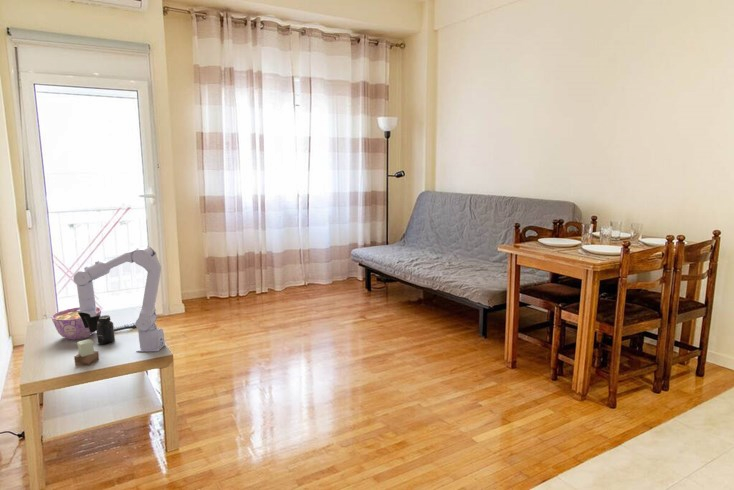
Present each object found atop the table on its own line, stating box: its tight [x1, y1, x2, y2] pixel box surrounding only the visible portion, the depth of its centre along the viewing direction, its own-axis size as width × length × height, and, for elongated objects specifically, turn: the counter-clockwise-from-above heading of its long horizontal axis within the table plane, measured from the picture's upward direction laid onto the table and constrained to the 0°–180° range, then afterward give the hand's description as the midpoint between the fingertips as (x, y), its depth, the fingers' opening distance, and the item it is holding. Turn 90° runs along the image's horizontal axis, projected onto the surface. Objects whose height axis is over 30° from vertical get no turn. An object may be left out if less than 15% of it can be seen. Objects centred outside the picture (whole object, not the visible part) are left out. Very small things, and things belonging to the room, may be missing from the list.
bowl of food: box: [50, 306, 102, 341], centre depth 223 cm, size 20×20×12 cm
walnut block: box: [73, 350, 100, 367], centre depth 194 cm, size 6×6×4 cm
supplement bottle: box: [96, 314, 116, 346], centre depth 215 cm, size 7×7×12 cm
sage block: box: [76, 338, 95, 357], centre depth 194 cm, size 4×4×5 cm
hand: (90, 329), depth 203 cm, fingers open, 7 cm apart
